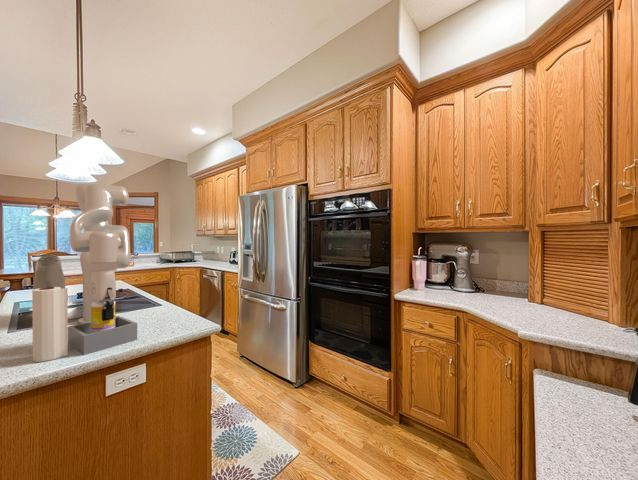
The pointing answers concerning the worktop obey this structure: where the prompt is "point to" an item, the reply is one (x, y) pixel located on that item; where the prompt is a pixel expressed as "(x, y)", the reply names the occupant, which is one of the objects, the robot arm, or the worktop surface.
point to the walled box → (101, 336)
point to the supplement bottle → (100, 317)
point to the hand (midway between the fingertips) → (103, 317)
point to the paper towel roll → (50, 323)
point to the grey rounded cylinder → (49, 273)
